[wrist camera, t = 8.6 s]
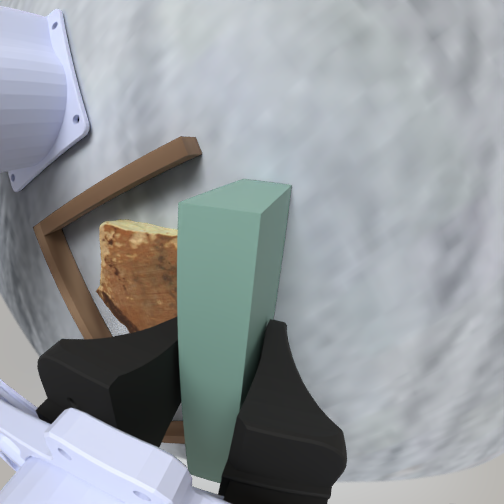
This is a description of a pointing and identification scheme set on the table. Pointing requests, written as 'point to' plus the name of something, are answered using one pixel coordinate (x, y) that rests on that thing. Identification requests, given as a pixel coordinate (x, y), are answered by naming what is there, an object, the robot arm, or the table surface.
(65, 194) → the table surface
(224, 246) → the bar
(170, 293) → the shard
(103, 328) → the walnut frame
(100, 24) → the table surface
